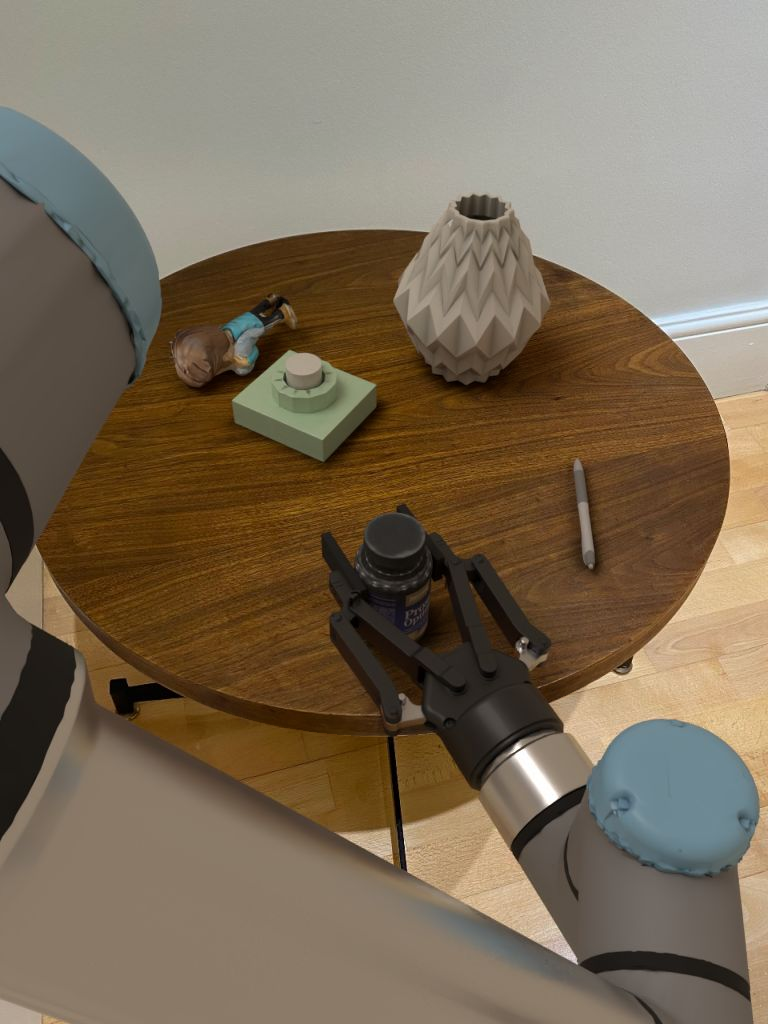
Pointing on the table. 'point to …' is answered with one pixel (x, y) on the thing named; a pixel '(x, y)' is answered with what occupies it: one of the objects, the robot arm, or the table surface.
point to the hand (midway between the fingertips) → (363, 529)
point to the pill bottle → (397, 571)
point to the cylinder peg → (303, 371)
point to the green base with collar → (305, 408)
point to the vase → (472, 290)
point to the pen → (584, 515)
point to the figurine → (227, 342)
